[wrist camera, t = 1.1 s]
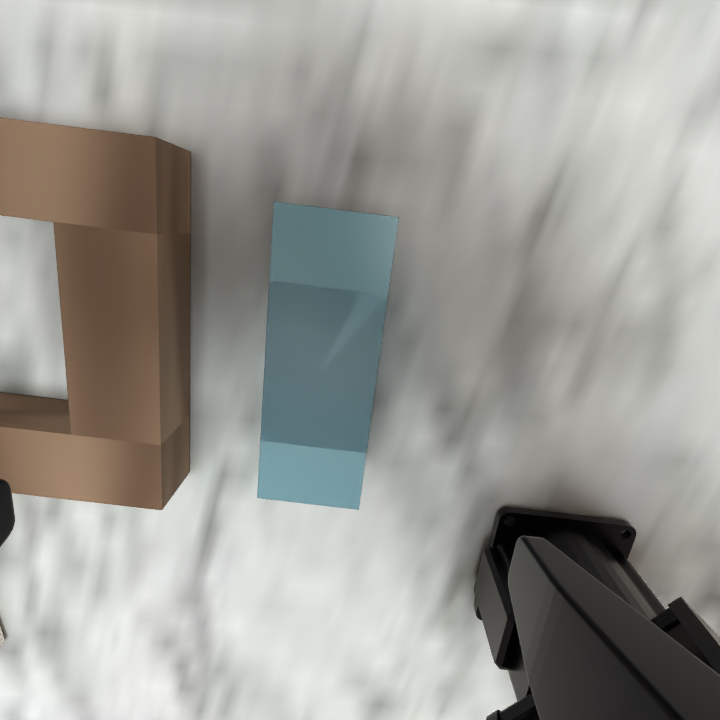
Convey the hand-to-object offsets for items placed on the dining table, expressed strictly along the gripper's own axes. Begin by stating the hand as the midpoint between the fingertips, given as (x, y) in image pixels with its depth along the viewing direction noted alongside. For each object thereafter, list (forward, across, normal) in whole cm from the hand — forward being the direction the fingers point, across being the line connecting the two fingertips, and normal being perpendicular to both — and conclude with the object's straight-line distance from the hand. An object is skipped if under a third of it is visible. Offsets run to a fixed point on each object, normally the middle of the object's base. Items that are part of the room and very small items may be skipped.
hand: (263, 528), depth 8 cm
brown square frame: (+12, +13, 0) cm, 17 cm away
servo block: (+12, 0, 0) cm, 12 cm away
